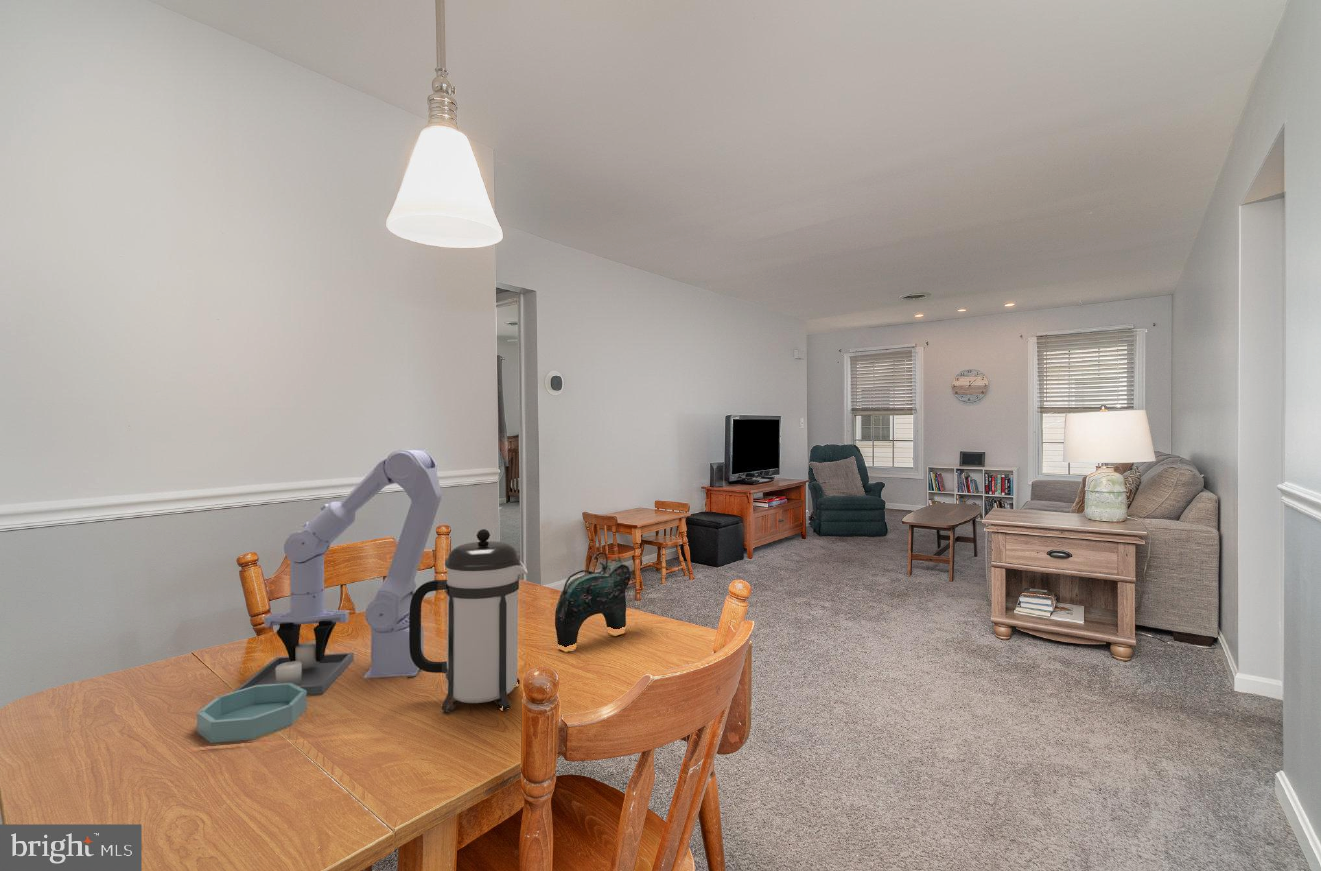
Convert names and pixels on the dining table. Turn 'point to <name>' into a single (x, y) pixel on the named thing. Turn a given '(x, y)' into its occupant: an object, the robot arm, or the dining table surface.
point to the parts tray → (305, 673)
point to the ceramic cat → (592, 600)
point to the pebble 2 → (306, 654)
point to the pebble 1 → (289, 673)
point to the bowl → (251, 712)
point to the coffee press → (475, 622)
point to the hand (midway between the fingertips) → (307, 660)
